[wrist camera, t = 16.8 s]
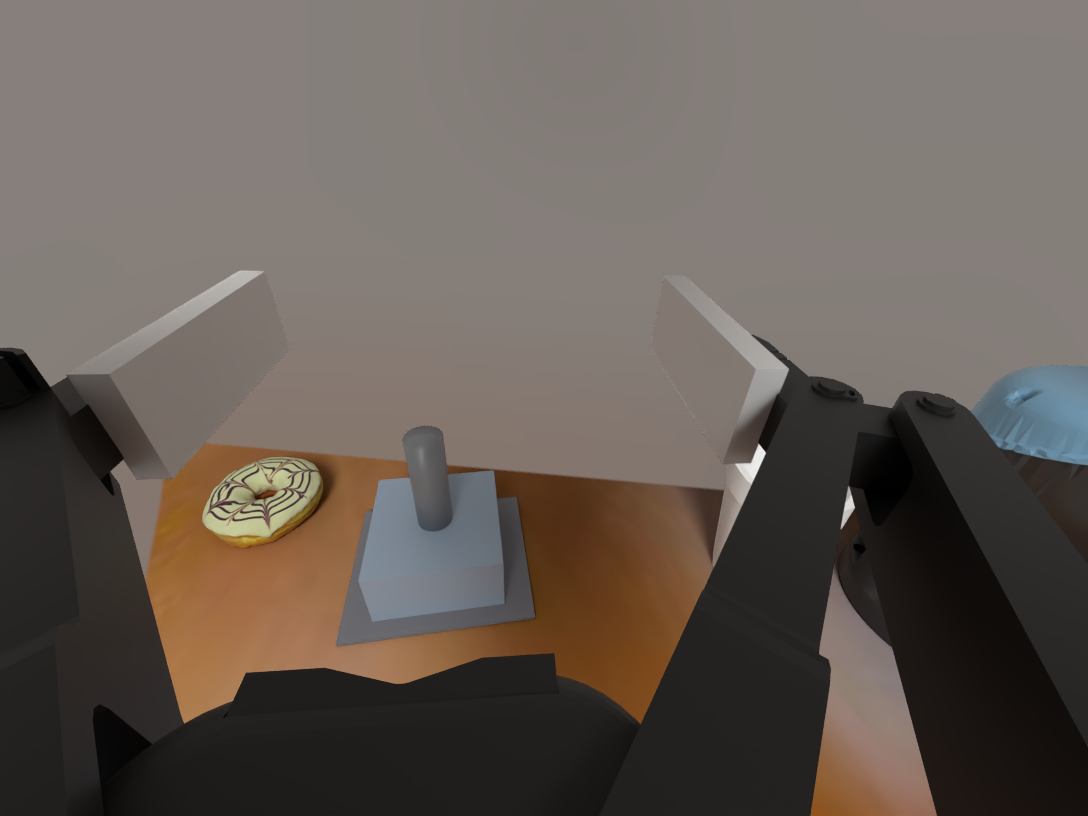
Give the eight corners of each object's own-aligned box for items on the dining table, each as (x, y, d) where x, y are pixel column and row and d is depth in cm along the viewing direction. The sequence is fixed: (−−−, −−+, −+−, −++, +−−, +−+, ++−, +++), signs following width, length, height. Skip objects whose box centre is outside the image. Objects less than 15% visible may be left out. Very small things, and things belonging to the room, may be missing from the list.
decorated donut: (186, 543, 42) (168, 517, 40) (262, 470, 51) (251, 445, 49) (283, 560, 41) (270, 534, 39) (344, 482, 50) (336, 457, 48)
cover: (495, 509, 46) (490, 394, 38) (504, 603, 38) (501, 481, 29) (389, 519, 45) (360, 402, 37) (372, 621, 36) (329, 496, 28)
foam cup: (699, 519, 47) (733, 423, 39) (792, 545, 44) (846, 447, 37) (693, 594, 39) (734, 493, 32) (804, 630, 37) (876, 529, 30)
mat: (516, 499, 48) (516, 496, 48) (535, 618, 37) (535, 615, 37) (366, 513, 46) (366, 511, 46) (337, 646, 34) (336, 643, 34)
